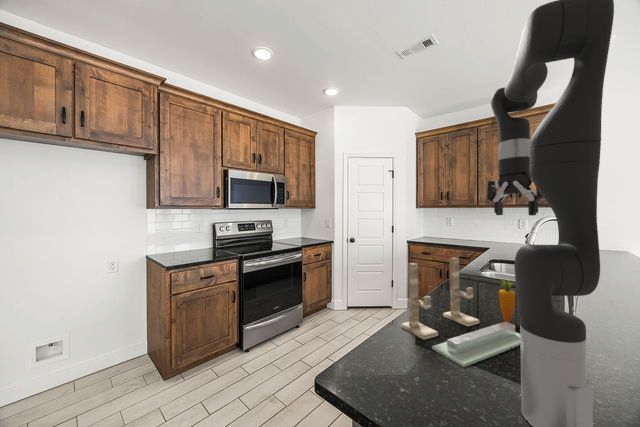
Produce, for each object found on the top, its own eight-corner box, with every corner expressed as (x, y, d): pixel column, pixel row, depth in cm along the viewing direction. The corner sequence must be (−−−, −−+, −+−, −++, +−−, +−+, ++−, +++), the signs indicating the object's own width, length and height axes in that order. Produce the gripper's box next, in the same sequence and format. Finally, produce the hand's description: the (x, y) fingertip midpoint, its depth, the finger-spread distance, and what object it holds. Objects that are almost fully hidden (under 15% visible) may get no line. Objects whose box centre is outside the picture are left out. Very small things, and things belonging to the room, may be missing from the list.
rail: (515, 334, 82) (515, 325, 82) (456, 355, 71) (456, 344, 71) (505, 330, 84) (505, 321, 84) (447, 350, 74) (447, 339, 74)
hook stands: (479, 323, 92) (478, 260, 92) (423, 339, 82) (422, 268, 81) (454, 313, 101) (453, 256, 101) (401, 327, 91) (400, 263, 90)
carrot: (519, 326, 89) (518, 281, 89) (502, 325, 90) (502, 281, 90) (511, 320, 94) (511, 278, 94) (496, 319, 95) (495, 277, 95)
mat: (531, 340, 79) (531, 338, 79) (463, 367, 67) (463, 364, 67) (497, 327, 89) (497, 325, 89) (432, 348, 76) (432, 346, 76)
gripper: (481, 161, 79) (481, 215, 79) (536, 151, 66) (537, 215, 66) (496, 162, 82) (497, 214, 83) (552, 153, 69) (553, 215, 70)
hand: (515, 215), depth 74 cm, fingers open, 8 cm apart
